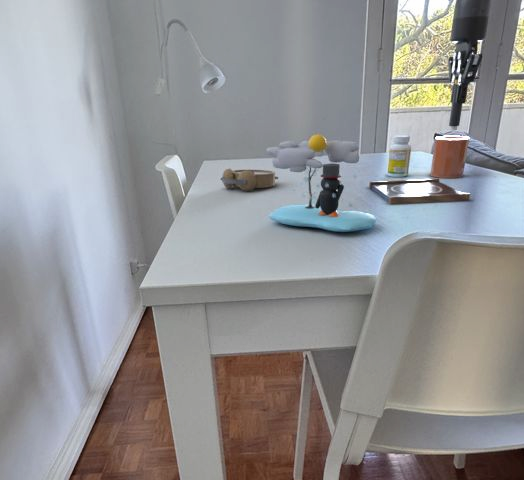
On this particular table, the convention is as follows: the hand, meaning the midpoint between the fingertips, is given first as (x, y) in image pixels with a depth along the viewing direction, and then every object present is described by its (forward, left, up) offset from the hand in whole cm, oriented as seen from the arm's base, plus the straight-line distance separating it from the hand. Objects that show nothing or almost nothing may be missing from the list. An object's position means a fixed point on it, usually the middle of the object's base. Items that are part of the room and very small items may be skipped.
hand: (457, 102), depth 114 cm
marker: (0, 0, -6) cm, 6 cm away
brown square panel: (+15, +20, -17) cm, 30 cm away
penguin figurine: (+40, +42, -17) cm, 60 cm away
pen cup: (0, 0, -17) cm, 17 cm away
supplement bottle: (+12, -3, -17) cm, 21 cm away
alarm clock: (+52, +4, -17) cm, 55 cm away
